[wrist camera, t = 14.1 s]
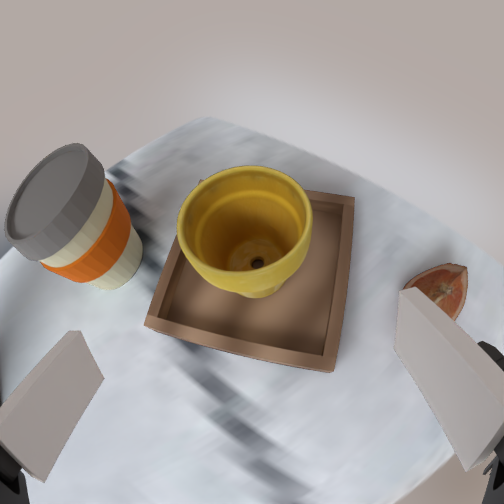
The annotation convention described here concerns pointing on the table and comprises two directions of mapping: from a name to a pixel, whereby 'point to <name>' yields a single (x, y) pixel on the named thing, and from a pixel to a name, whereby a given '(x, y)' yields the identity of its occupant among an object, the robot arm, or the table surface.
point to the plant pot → (246, 229)
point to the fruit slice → (444, 287)
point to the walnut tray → (267, 299)
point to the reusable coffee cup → (74, 221)
